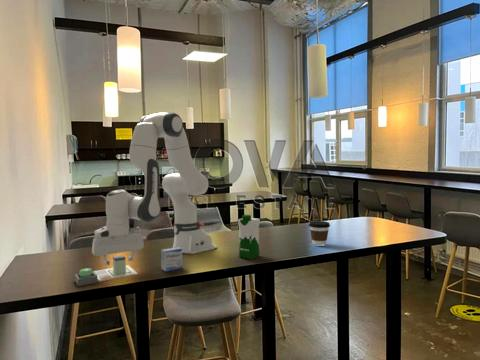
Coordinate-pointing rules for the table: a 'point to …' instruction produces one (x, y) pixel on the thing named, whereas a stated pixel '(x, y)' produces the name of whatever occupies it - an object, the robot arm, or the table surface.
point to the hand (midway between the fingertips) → (119, 262)
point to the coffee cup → (319, 232)
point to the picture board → (114, 274)
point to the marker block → (119, 264)
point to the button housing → (86, 279)
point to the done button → (85, 272)
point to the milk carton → (248, 237)
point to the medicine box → (171, 259)
